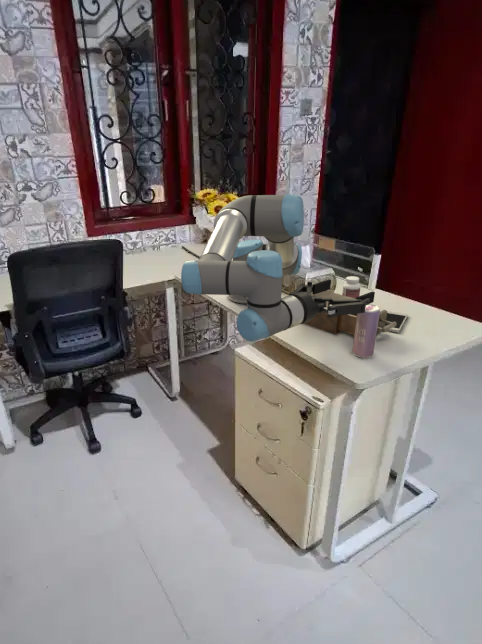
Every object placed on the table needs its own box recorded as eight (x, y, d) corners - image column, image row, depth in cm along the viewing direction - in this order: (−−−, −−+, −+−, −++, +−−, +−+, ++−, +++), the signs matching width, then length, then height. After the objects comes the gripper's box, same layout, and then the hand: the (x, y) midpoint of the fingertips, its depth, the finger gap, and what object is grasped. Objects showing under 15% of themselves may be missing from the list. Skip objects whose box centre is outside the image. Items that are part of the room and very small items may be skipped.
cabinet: (357, 323, 144) (360, 299, 140) (335, 334, 137) (338, 310, 133) (323, 312, 154) (325, 290, 150) (301, 323, 147) (303, 299, 143)
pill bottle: (361, 306, 158) (365, 278, 153) (350, 310, 155) (353, 281, 150) (349, 301, 163) (352, 274, 158) (337, 305, 160) (340, 277, 155)
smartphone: (407, 316, 147) (408, 313, 147) (398, 332, 136) (398, 330, 135) (386, 312, 151) (386, 310, 150) (375, 328, 140) (376, 326, 139)
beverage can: (377, 353, 124) (384, 307, 118) (366, 360, 121) (373, 313, 114) (359, 347, 129) (365, 302, 122) (348, 353, 125) (353, 307, 119)
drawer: (398, 334, 133) (401, 314, 130) (379, 346, 127) (382, 325, 124) (350, 319, 145) (352, 301, 142) (330, 329, 139) (332, 310, 136)
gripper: (258, 310, 110) (313, 292, 121) (334, 341, 92) (391, 316, 102) (258, 283, 107) (314, 267, 118) (337, 310, 88) (395, 288, 99)
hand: (350, 290), depth 110 cm, fingers open, 13 cm apart
